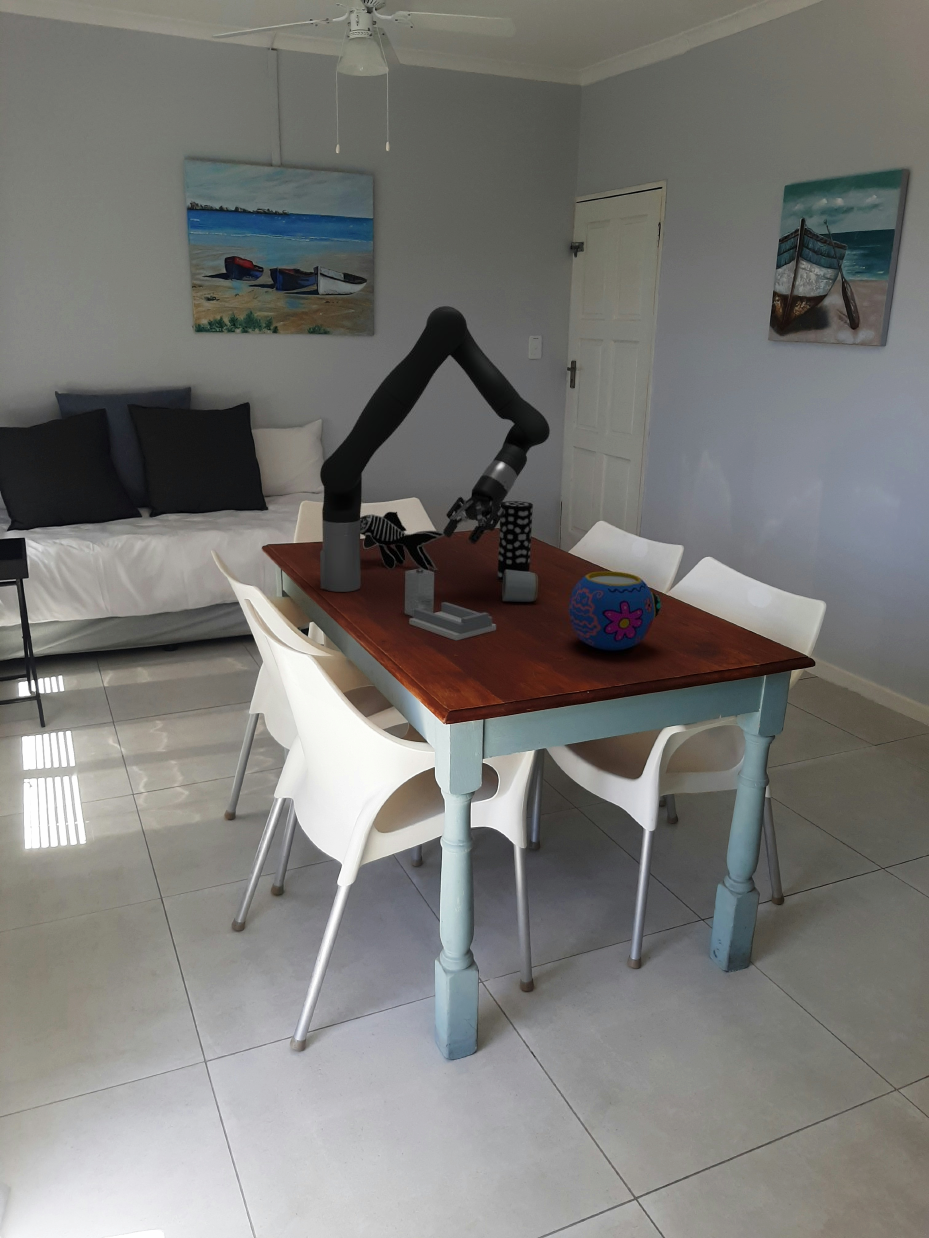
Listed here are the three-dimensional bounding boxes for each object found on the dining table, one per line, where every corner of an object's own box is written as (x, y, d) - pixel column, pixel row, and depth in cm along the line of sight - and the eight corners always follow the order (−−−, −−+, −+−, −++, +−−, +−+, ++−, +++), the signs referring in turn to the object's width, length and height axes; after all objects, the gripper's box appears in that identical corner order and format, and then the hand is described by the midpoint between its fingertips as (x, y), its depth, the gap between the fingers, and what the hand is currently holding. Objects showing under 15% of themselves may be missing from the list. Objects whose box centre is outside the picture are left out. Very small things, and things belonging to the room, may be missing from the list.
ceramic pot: (669, 652, 200) (676, 582, 196) (602, 665, 191) (608, 592, 187) (613, 630, 214) (619, 564, 210) (549, 641, 205) (553, 572, 201)
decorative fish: (364, 544, 276) (374, 494, 270) (446, 575, 267) (458, 524, 262) (335, 555, 262) (345, 502, 257) (420, 587, 254) (432, 534, 248)
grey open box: (409, 624, 214) (409, 605, 213) (449, 614, 222) (449, 596, 221) (456, 640, 203) (456, 621, 202) (496, 629, 211) (496, 611, 210)
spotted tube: (492, 580, 253) (496, 504, 247) (503, 573, 260) (506, 500, 255) (523, 584, 250) (526, 507, 244) (533, 577, 257) (537, 503, 252)
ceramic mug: (538, 605, 232) (539, 574, 229) (504, 604, 231) (505, 573, 229) (532, 594, 242) (534, 564, 240) (499, 593, 241) (501, 563, 239)
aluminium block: (404, 613, 221) (405, 569, 218) (419, 610, 224) (420, 566, 222) (418, 618, 218) (418, 573, 215) (433, 614, 221) (434, 570, 218)
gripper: (465, 470, 231) (429, 524, 227) (509, 478, 221) (471, 533, 217) (481, 490, 236) (445, 543, 232) (524, 498, 226) (488, 553, 222)
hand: (458, 538), depth 224 cm, fingers open, 8 cm apart
